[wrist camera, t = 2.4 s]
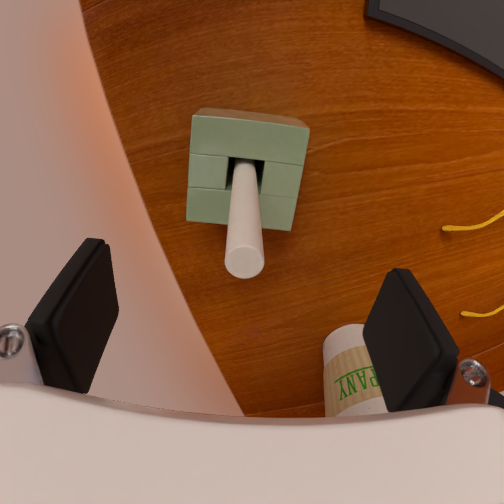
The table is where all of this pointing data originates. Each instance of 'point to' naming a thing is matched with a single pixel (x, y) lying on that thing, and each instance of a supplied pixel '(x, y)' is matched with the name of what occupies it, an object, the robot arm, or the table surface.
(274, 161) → the stylus holder
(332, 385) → the coffee cup
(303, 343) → the table surface
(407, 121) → the table surface
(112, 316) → the robot arm
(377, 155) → the table surface
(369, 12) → the tablet
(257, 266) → the stylus
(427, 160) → the table surface
